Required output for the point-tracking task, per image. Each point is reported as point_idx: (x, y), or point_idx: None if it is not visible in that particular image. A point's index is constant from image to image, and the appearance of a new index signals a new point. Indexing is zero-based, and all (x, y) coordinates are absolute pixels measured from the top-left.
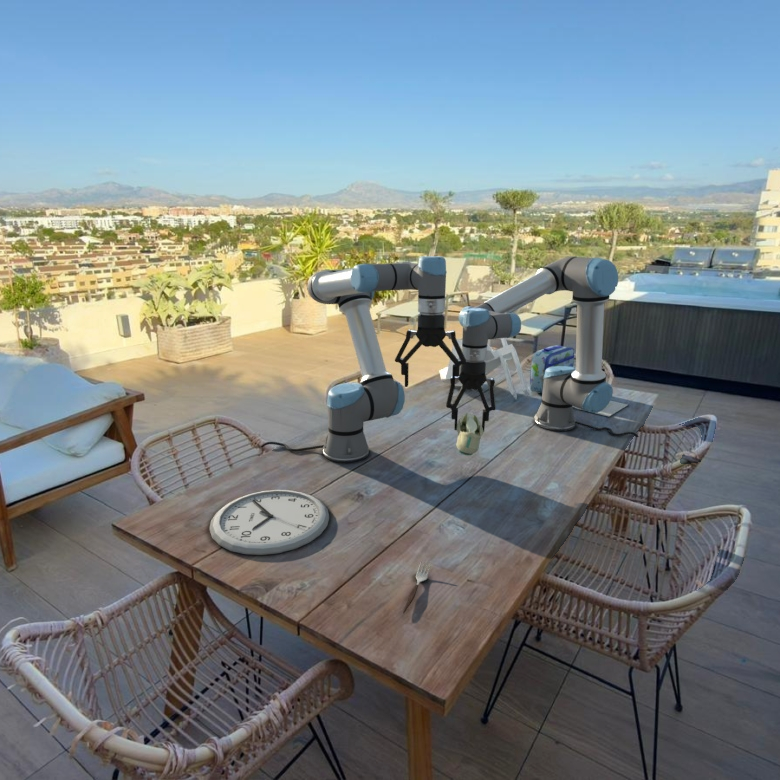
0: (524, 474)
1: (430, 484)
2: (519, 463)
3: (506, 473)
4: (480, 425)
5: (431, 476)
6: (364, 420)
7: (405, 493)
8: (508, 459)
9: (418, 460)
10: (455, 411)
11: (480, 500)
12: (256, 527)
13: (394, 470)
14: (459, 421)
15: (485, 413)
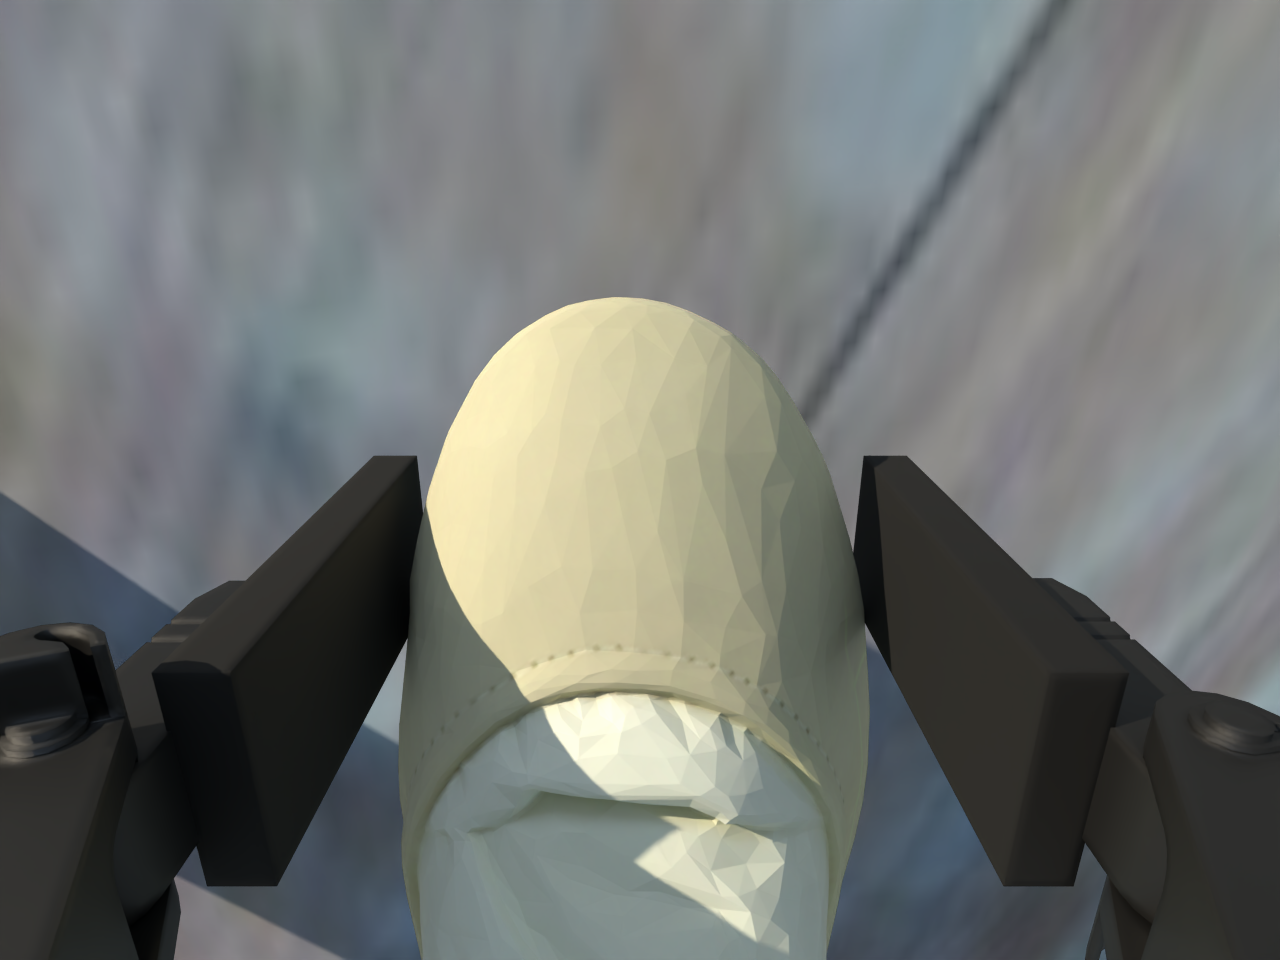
0: (1142, 524)
1: (363, 778)
2: (1179, 294)
3: (984, 528)
4: (829, 936)
5: None
6: None
7: (222, 902)
8: (1092, 207)
9: (158, 382)
10: (219, 866)
11: None
12: None
13: (18, 611)
14: (419, 905)
15: (1053, 859)
